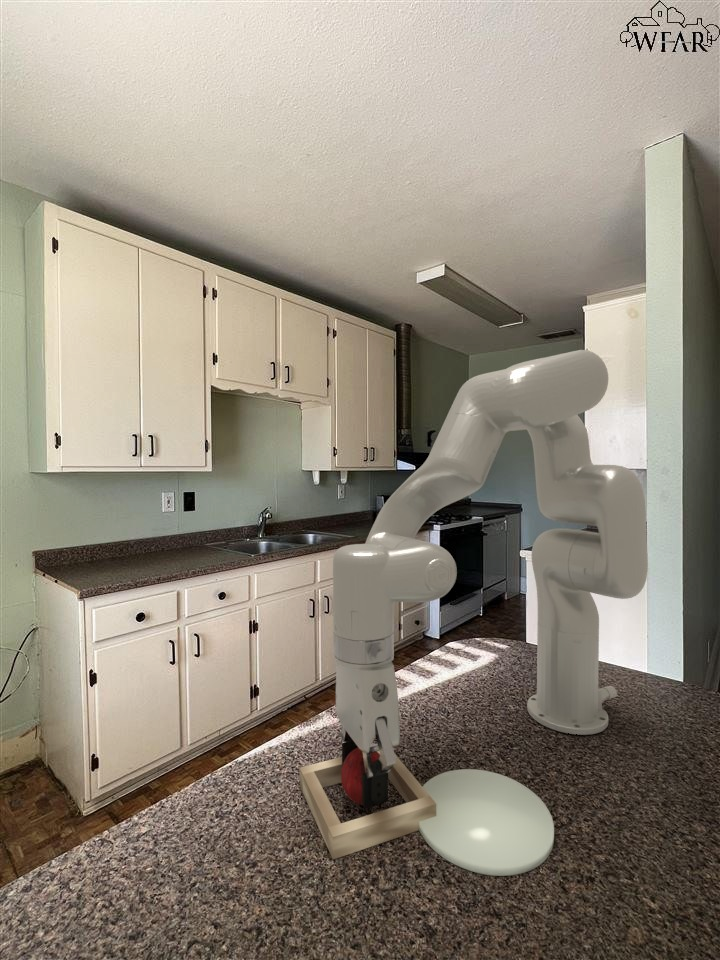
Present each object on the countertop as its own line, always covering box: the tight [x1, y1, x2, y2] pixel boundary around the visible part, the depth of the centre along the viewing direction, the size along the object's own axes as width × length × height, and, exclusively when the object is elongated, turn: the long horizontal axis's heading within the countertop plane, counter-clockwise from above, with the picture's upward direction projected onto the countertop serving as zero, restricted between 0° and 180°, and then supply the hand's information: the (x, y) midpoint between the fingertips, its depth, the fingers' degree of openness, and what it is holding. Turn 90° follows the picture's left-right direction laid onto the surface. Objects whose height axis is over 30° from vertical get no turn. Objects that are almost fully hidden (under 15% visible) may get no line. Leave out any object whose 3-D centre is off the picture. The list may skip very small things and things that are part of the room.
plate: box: [418, 768, 555, 877], centre depth 58 cm, size 16×16×1 cm
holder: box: [299, 751, 436, 860], centre depth 61 cm, size 13×13×2 cm
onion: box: [341, 747, 380, 806], centre depth 61 cm, size 6×6×8 cm
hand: (364, 785), depth 61 cm, fingers closed on onion, 5 cm apart
